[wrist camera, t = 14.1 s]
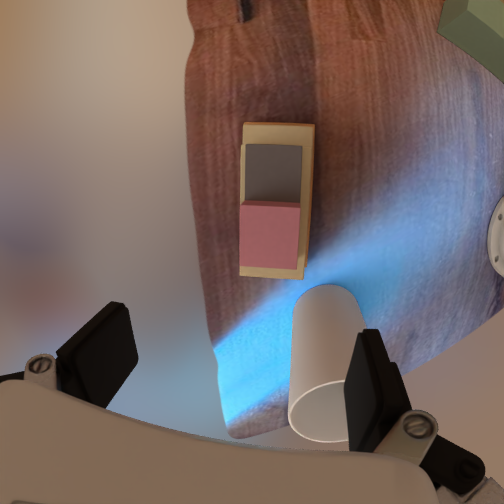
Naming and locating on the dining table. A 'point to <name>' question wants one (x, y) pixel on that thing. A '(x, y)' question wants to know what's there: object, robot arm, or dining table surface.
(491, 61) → the rectangular block
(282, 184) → the grey and pink l-bracket
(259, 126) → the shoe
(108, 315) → the robot arm
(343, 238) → the dining table surface
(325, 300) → the cup
